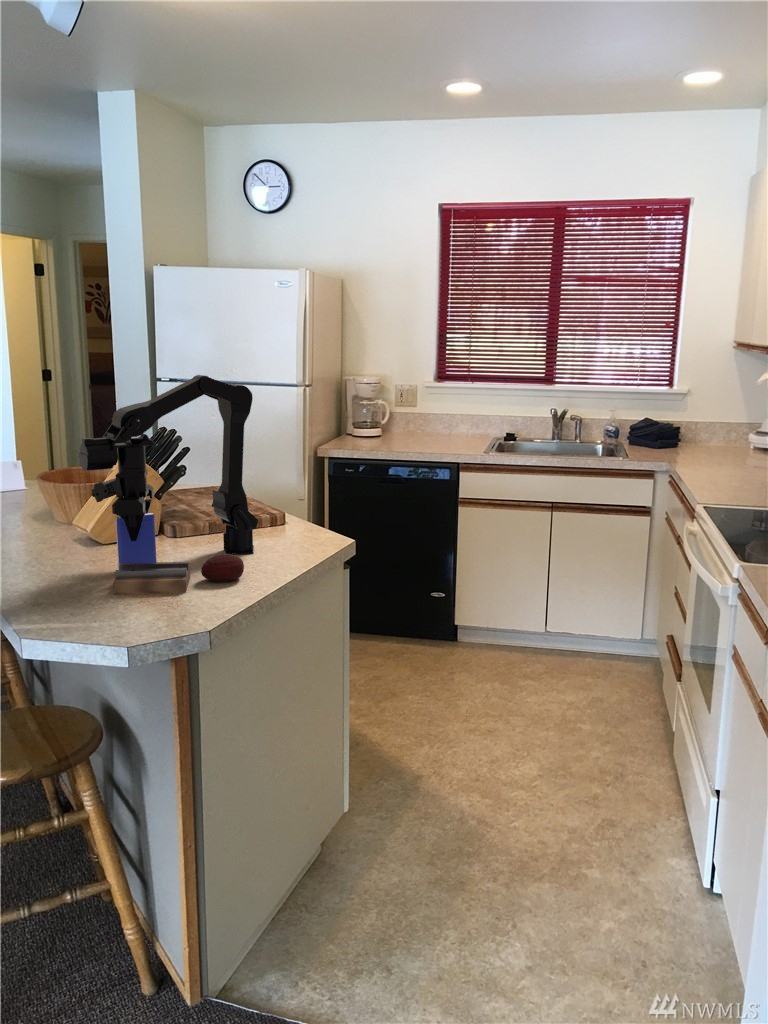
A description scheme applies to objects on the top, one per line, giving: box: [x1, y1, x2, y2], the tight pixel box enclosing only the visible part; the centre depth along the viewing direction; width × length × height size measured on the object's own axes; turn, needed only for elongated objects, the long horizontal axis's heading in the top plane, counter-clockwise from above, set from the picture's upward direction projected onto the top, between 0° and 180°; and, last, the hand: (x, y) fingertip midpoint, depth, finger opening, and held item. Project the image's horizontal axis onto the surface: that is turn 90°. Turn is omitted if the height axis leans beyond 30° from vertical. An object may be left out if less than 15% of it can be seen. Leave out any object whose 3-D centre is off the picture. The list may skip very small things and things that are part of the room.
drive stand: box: [113, 561, 191, 596], centre depth 164 cm, size 14×10×4 cm
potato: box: [200, 553, 245, 583], centre depth 169 cm, size 8×9×6 cm
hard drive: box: [115, 512, 158, 570], centre depth 175 cm, size 2×8×12 cm, turn 123°
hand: (136, 537), depth 175 cm, fingers open, 7 cm apart
